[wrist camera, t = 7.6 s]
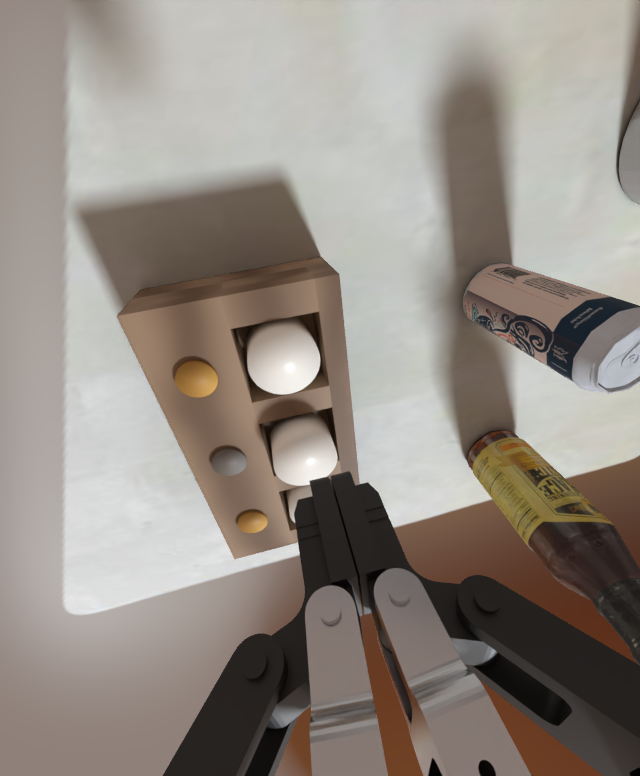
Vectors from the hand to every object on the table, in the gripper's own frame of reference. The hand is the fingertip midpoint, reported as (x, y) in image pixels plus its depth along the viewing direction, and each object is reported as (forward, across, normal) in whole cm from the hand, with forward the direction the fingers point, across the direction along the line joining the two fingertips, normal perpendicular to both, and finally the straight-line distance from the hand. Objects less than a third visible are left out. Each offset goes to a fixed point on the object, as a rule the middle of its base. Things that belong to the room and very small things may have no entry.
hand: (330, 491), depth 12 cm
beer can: (+16, -16, 0) cm, 23 cm away
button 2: (+11, +1, +7) cm, 13 cm away
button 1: (+13, +1, 0) cm, 13 cm away
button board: (+16, +3, +7) cm, 17 cm away
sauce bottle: (+16, -19, +18) cm, 31 cm away
